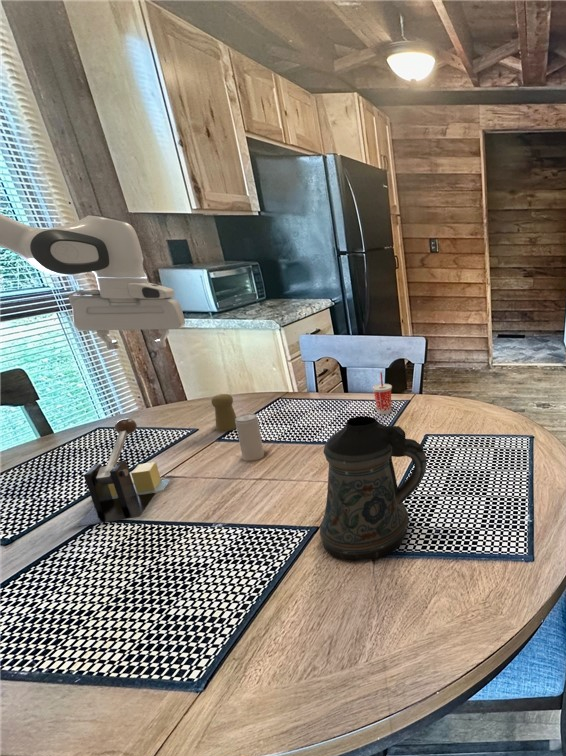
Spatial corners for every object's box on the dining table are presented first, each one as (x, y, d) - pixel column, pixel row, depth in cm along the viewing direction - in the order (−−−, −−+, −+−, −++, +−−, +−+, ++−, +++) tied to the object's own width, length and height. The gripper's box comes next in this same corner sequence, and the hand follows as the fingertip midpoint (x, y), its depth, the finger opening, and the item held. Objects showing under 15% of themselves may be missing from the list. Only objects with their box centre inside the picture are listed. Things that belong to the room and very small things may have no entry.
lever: (121, 426, 94) (114, 416, 92) (141, 424, 95) (134, 414, 93) (98, 487, 84) (89, 477, 81) (120, 484, 85) (112, 474, 82)
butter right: (137, 492, 92) (130, 473, 90) (144, 483, 95) (138, 464, 94) (155, 490, 93) (149, 470, 91) (161, 480, 96) (156, 461, 95)
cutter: (100, 504, 89) (84, 460, 85) (157, 495, 93) (145, 453, 89) (77, 531, 81) (59, 483, 78) (141, 520, 85) (126, 474, 81)
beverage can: (261, 452, 112) (254, 412, 108) (267, 459, 109) (259, 417, 105) (241, 458, 109) (232, 416, 105) (246, 465, 106) (237, 422, 102)
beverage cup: (396, 408, 143) (393, 370, 139) (389, 415, 137) (386, 375, 133) (379, 407, 144) (375, 369, 139) (371, 414, 138) (368, 374, 133)
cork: (244, 428, 125) (237, 394, 122) (222, 435, 120) (214, 400, 117) (234, 423, 128) (227, 390, 125) (212, 430, 123) (204, 396, 120)
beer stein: (313, 527, 84) (295, 414, 76) (403, 496, 95) (397, 395, 87) (334, 579, 72) (317, 451, 64) (436, 537, 83) (432, 423, 75)
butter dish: (95, 504, 89) (93, 500, 89) (106, 491, 93) (105, 487, 93) (164, 493, 93) (162, 490, 93) (171, 482, 98) (170, 478, 97)
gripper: (58, 290, 91) (74, 352, 95) (172, 291, 99) (183, 348, 102) (74, 289, 97) (89, 347, 100) (181, 289, 104) (191, 344, 108)
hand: (137, 348), depth 101 cm, fingers open, 8 cm apart
